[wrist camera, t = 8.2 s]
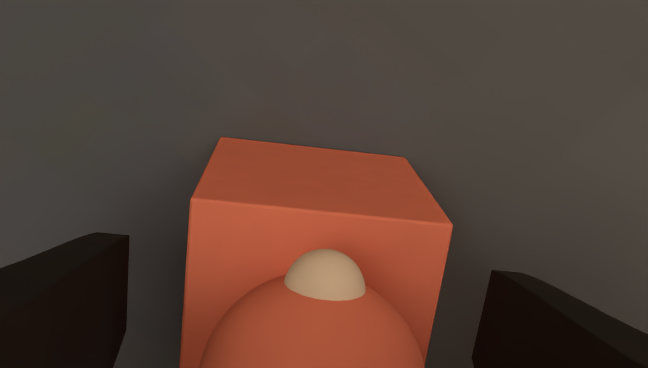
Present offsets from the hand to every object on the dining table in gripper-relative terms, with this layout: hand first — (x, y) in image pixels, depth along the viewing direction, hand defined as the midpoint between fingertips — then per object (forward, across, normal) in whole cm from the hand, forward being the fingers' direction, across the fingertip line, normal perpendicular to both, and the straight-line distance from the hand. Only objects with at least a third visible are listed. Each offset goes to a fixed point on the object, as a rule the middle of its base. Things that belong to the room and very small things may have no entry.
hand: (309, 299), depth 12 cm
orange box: (+3, 0, 0) cm, 3 cm away
